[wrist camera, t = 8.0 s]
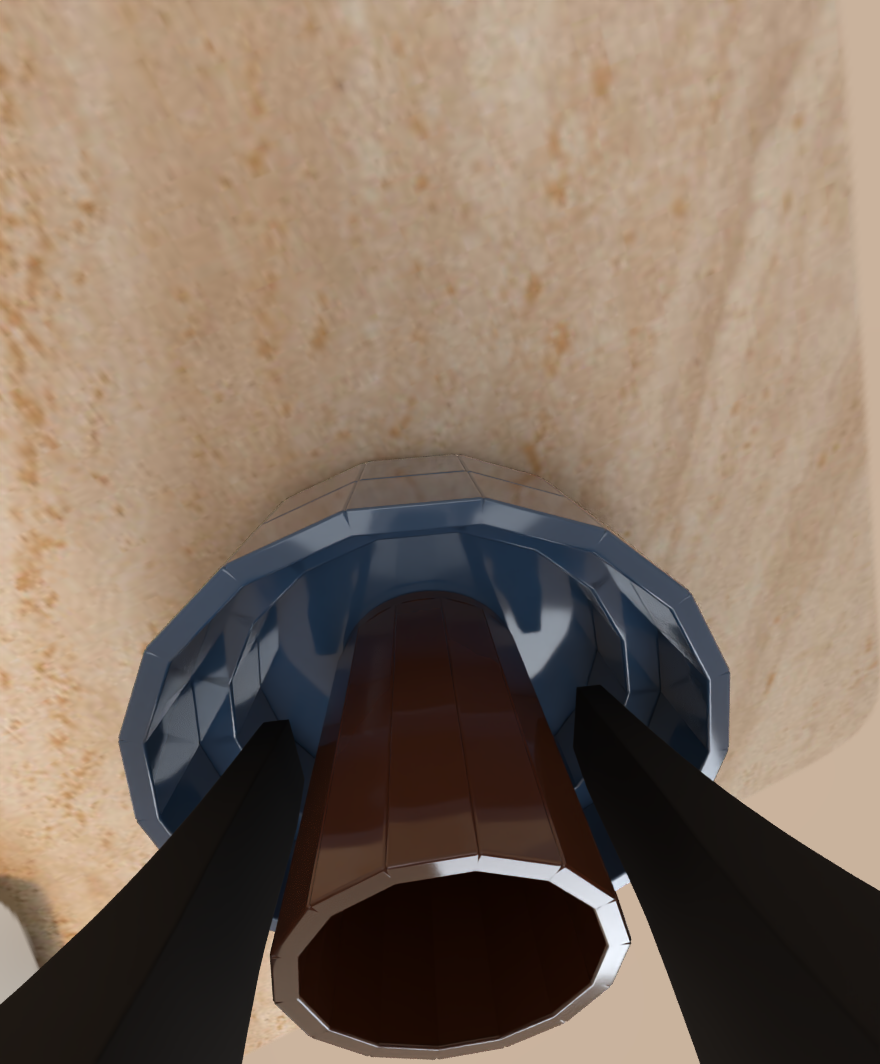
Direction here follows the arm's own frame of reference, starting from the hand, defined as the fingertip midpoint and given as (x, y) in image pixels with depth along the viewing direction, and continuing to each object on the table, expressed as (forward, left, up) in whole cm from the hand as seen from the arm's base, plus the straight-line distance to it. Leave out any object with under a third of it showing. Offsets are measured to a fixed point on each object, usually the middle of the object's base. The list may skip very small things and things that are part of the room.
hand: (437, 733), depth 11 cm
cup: (0, 0, -2) cm, 3 cm away
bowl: (0, 0, -3) cm, 3 cm away
